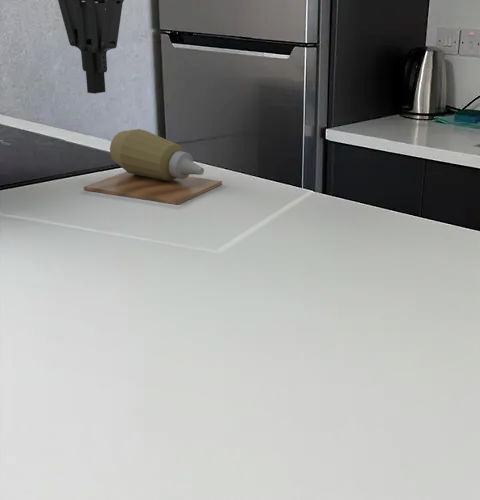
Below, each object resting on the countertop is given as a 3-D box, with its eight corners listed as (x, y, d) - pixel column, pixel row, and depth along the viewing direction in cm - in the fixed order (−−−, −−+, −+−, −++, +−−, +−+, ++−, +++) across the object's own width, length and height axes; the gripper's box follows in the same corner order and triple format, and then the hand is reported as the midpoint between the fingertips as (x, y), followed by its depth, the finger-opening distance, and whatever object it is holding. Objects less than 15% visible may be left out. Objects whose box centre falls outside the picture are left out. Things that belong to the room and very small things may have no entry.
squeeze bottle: (118, 178, 123) (198, 203, 116) (96, 149, 117) (179, 174, 110) (143, 145, 127) (222, 168, 120) (123, 115, 120) (205, 137, 113)
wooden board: (83, 190, 113) (83, 186, 112) (134, 171, 125) (134, 168, 125) (178, 204, 107) (178, 201, 107) (222, 184, 120) (222, 180, 120)
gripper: (135, -59, 107) (143, 93, 115) (68, -62, 111) (79, 86, 119) (104, -64, 100) (114, 98, 109) (33, -66, 104) (48, 90, 112)
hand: (96, 92), depth 114 cm, fingers closed
